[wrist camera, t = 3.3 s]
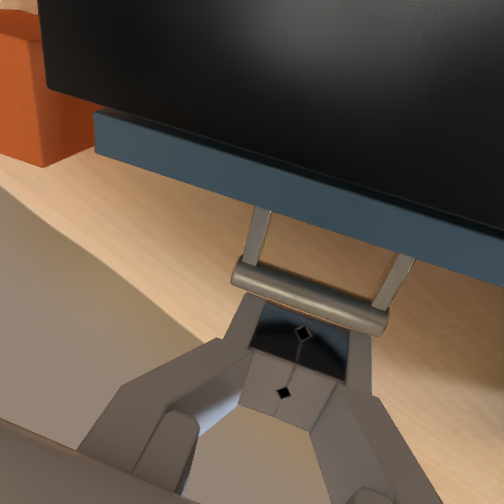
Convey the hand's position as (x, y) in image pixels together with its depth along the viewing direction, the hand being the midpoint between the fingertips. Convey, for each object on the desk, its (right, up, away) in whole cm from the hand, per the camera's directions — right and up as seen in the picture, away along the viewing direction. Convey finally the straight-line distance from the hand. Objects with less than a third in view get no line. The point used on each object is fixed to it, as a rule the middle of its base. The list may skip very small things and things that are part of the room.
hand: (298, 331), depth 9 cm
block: (-11, +11, +10) cm, 18 cm away
